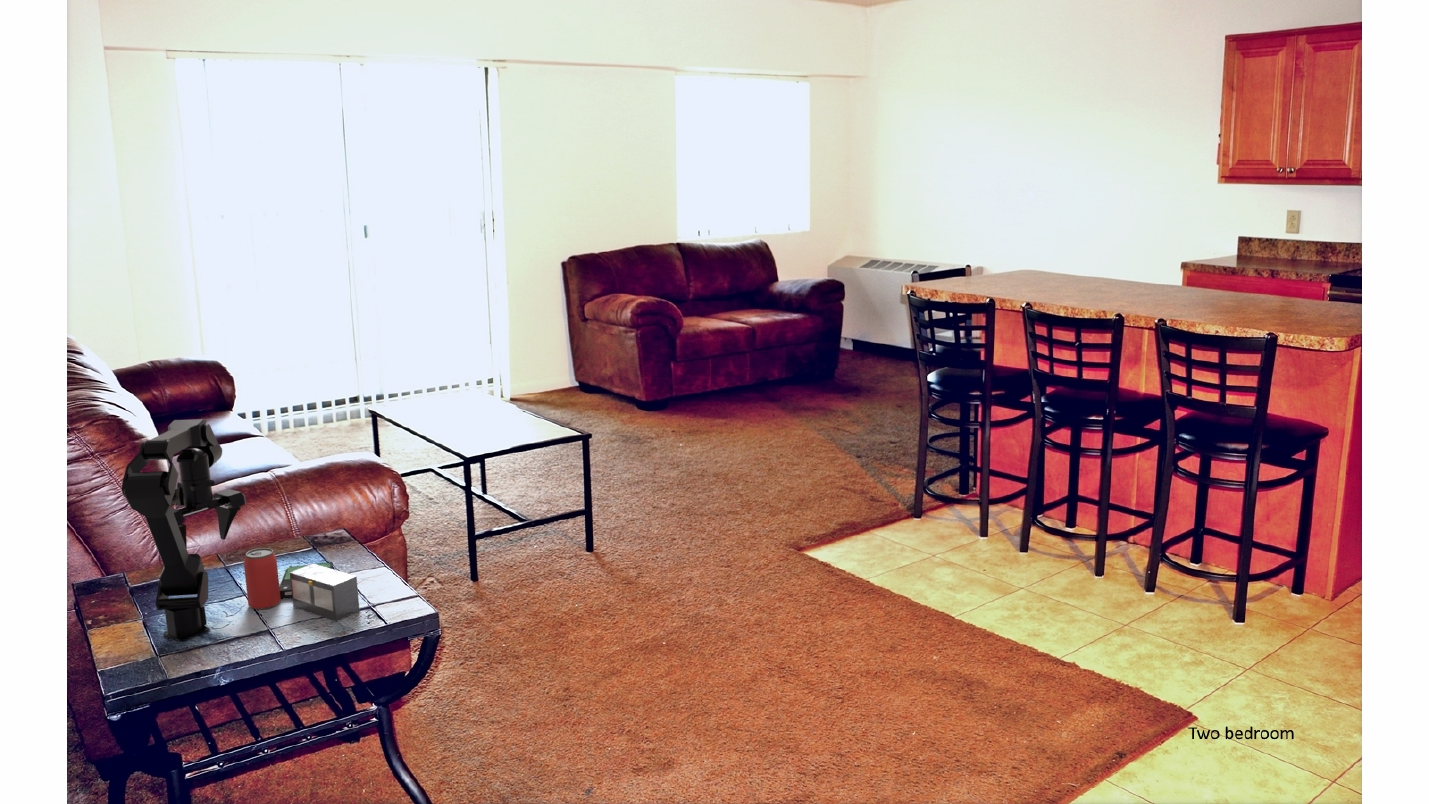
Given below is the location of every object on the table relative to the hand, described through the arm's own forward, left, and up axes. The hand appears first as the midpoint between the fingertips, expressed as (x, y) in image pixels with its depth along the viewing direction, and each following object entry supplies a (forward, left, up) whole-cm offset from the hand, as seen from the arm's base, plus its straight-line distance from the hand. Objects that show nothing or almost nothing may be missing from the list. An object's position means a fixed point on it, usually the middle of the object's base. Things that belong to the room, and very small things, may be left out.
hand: (203, 545), depth 230 cm
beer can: (+5, -11, -13) cm, 18 cm away
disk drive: (+17, -10, -14) cm, 24 cm away
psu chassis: (+10, -25, -13) cm, 30 cm away
